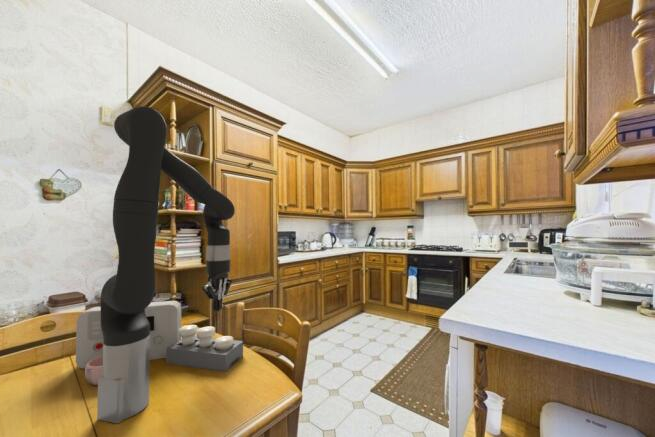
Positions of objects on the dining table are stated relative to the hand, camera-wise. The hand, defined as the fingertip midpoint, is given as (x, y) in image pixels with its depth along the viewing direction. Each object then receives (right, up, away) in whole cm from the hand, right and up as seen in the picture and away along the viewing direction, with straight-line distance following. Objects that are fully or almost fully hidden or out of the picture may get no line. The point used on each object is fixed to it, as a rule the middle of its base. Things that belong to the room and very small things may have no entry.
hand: (217, 310), depth 87 cm
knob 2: (-4, -13, +1) cm, 14 cm away
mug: (-28, -17, -9) cm, 34 cm away
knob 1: (-11, -13, +2) cm, 17 cm away
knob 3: (+2, -16, -1) cm, 16 cm away
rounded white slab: (-30, -17, +1) cm, 35 cm away
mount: (-4, -17, +1) cm, 17 cm away
